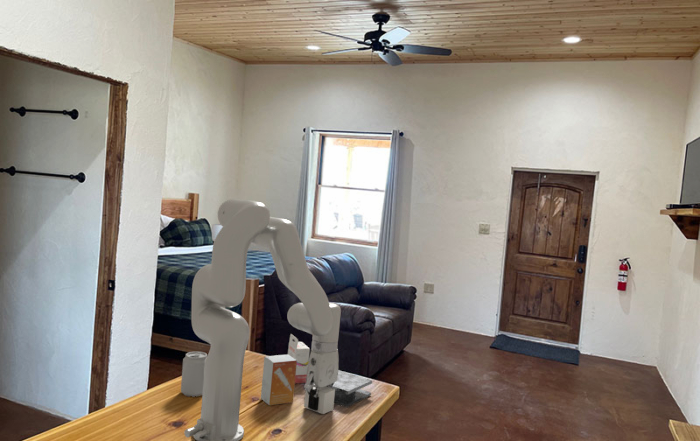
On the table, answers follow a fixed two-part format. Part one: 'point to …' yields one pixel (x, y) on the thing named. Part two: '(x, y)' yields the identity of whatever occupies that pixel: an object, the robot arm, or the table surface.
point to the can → (193, 374)
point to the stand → (349, 389)
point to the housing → (322, 399)
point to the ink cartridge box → (299, 358)
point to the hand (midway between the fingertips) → (318, 405)
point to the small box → (278, 379)
